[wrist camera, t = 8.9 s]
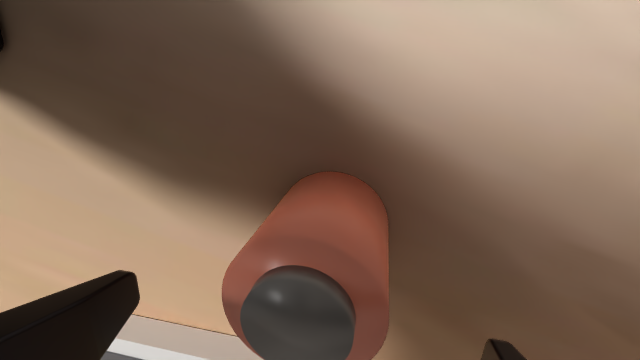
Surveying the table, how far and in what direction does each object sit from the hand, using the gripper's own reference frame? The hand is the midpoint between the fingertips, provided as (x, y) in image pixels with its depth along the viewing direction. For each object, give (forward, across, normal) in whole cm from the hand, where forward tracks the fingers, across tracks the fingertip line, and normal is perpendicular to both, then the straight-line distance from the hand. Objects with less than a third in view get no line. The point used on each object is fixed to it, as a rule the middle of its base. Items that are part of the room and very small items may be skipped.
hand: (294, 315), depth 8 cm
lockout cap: (+5, 0, 0) cm, 5 cm away
